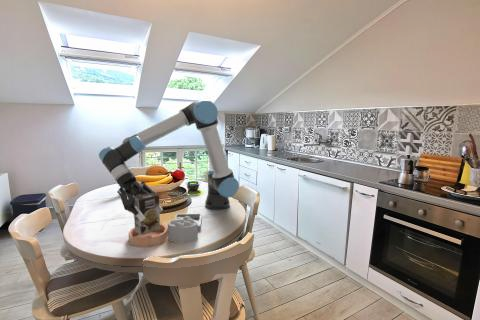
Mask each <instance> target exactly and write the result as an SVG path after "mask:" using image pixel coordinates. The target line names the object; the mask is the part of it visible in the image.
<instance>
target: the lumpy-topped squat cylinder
mask: <svg viewBox="0 0 480 320" xmlns="http://www.w3.org/2000/svg"><path fill="white" fill-rule="evenodd" d="M198 225H199V222H197V220H196V219H195V218H194V219H191V218H190V217H189V216H185V217H176V218H175V217H174V218H173V219H172V220H170V221H168V223H167V228H168V236H167V239H168V241H171V242H175V243H179V242H180V244H186V243H191V242H195V241H197V240H198V238H199V237H198V233H199V230H198Z"/></svg>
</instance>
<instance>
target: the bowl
mask: <svg viewBox="0 0 480 320" xmlns="http://www.w3.org/2000/svg"><path fill="white" fill-rule="evenodd" d="M167 239H168V226H166V225H165V224H163V223H160V229H159V230H156V231H153V232H150V233H147V234H144V235H140V234H138V233H137V232H135V227H133V228H131V229H130V230H129V232H128V242H129V243H130V246H133V247H134V246H135V247H137V248H147V247H152V246H153V247H154V246H156V245H159V244H162V243H163V242H165V241H166V240H167Z"/></svg>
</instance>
